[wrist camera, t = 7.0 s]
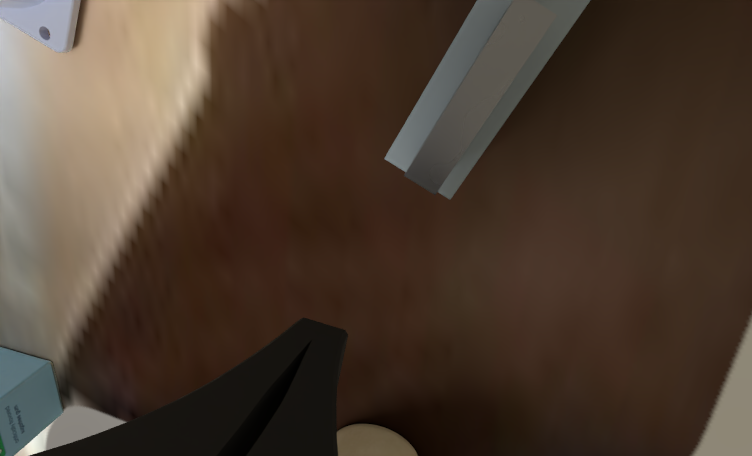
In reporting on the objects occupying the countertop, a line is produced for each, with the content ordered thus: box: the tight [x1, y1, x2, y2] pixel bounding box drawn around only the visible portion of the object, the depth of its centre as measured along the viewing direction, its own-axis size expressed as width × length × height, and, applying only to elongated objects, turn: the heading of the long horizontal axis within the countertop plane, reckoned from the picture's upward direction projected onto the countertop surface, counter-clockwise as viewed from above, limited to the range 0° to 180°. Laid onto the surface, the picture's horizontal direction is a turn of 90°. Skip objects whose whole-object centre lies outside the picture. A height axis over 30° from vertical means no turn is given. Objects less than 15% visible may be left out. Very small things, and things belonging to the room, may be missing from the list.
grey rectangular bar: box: [404, 0, 557, 195], centre depth 11 cm, size 1×5×2 cm, turn 150°
